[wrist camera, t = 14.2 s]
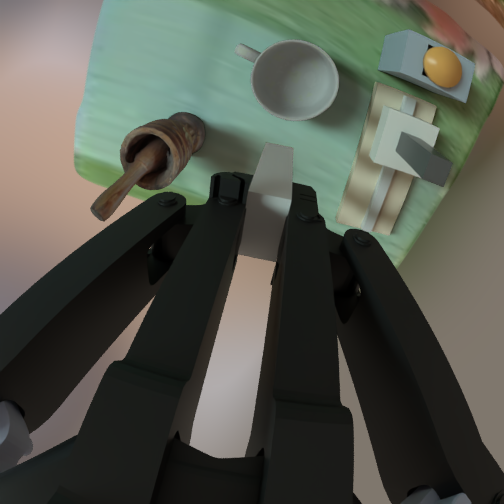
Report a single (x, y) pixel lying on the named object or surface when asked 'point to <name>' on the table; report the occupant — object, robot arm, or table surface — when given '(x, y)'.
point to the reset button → (442, 67)
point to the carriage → (409, 146)
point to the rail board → (378, 168)
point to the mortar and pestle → (152, 158)
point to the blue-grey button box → (420, 63)
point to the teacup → (292, 79)
